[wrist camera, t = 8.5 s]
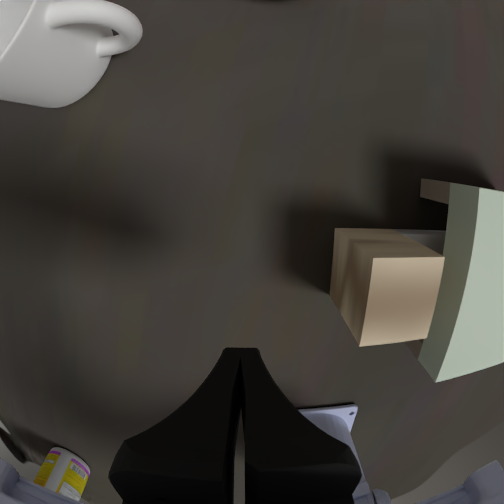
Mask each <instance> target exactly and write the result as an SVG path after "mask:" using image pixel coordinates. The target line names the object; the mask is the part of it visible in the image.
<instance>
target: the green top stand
mask: <svg viewBox="0 0 504 504" xmlns="http://www.w3.org/2000/svg"><path fill="white" fill-rule="evenodd" d="M420 197H422V198H426V199H430V200H434V201H438V202H442V203H446V204H449V207H448V218H447V227H446V235H445V243H444V249H443V256H444V257H445V260H444V266H443V271H442V277H441V282H440V287H439V291H438V296H437V301H436V305H435V309H434V313H433V317H432V321H431V325H430V328H429V332H428V336H427V338H425V339H418V340H411V341H404V342H405V343H406V345H407V346H408V347H409V349H410V350H411V351H412V352H413V354H414V355H415V356H416V358H417V359H418V360H419V362H420V363H421V364H422V365H423V367H424V368H425V369H426V371H427V372H428V373H429V375H430V376H431V377H432V379H433V380H434V381H435V382H440V381H443V380H447V379H451V378H455V377H458V376H462V375H465V374H469V373H472V372H475V371H478V370H482V369H485V368H488V367H491V366H494V365H497V364H499V363H502V362H504V191H501V190H496V189H490V188H481V187H475V186H469V185H463V184H457V183H451V182H445V181H438V180H431V179H422V178H421V189H420Z"/></svg>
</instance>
